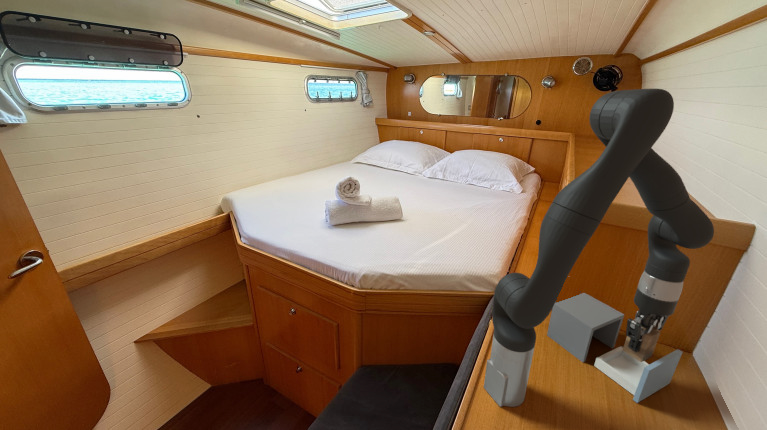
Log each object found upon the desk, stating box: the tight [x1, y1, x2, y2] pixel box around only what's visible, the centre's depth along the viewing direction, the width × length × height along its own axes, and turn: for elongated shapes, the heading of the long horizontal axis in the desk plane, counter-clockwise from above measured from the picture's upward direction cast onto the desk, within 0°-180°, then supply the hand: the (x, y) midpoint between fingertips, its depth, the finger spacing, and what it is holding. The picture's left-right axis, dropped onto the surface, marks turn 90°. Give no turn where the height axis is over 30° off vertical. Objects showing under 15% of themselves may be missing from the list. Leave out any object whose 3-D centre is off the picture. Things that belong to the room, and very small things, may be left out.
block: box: [622, 327, 661, 362], centre depth 77 cm, size 4×4×8 cm
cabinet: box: [546, 292, 625, 363], centre depth 91 cm, size 14×12×12 cm
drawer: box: [593, 345, 683, 404], centre depth 79 cm, size 14×12×11 cm
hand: (639, 346), depth 78 cm, fingers closed on block, 4 cm apart
